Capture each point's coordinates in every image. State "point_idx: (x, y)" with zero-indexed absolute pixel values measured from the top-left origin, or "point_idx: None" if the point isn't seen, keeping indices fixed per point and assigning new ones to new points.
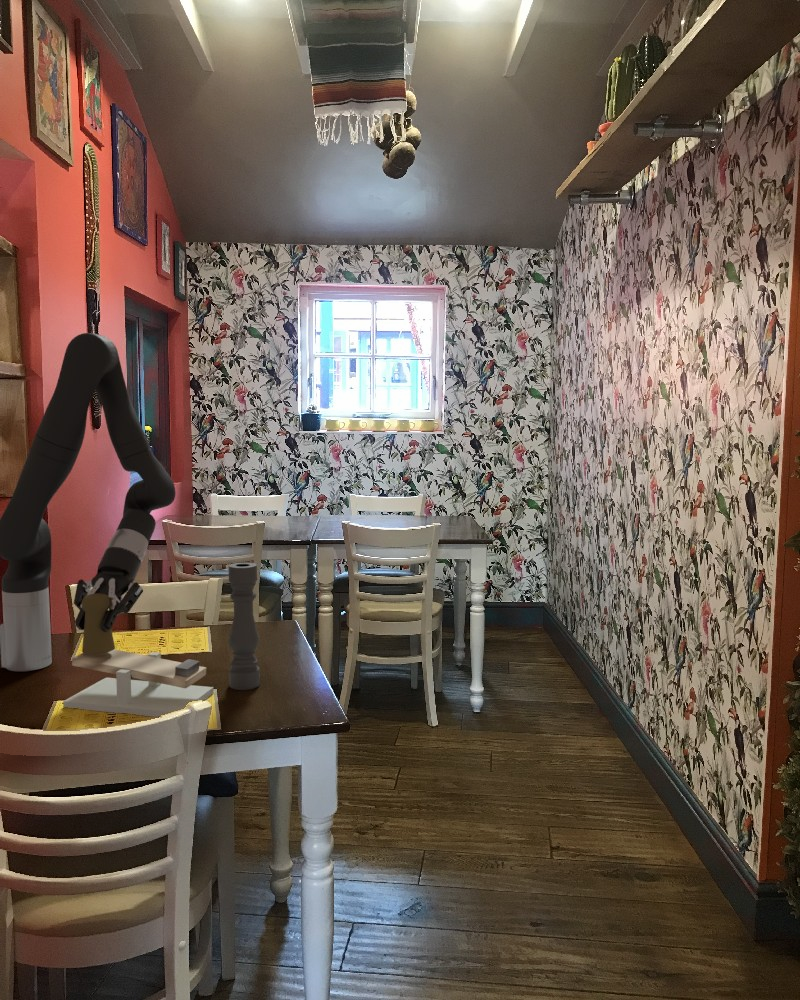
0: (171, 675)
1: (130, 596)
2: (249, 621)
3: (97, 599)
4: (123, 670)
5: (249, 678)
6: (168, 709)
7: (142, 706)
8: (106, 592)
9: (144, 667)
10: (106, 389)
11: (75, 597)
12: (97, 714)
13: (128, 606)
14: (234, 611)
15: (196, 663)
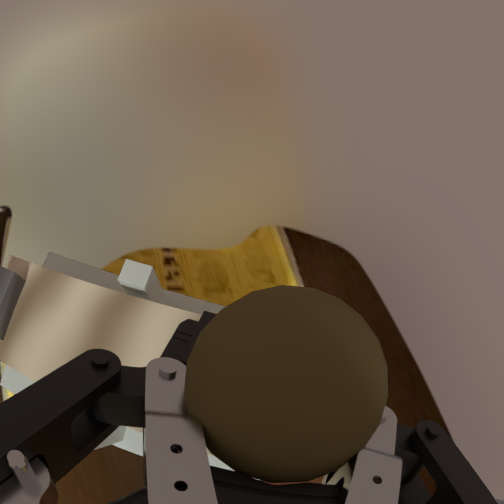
0: (32, 277)
1: (26, 393)
2: None
3: (252, 300)
4: (135, 277)
5: None
6: (65, 268)
7: (112, 287)
8: (246, 493)
9: (88, 315)
10: None
11: (457, 453)
12: (205, 288)
13: (80, 420)
14: None
15: None
